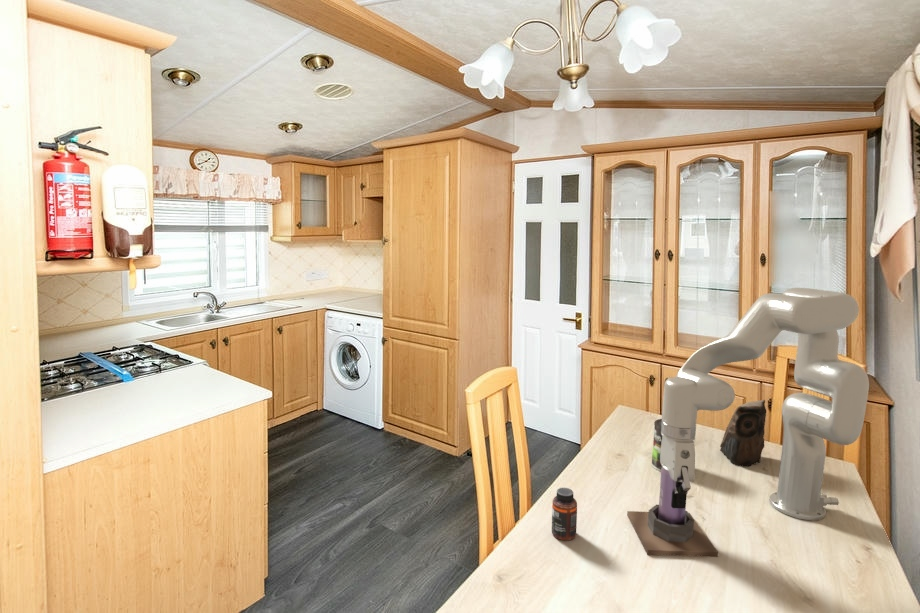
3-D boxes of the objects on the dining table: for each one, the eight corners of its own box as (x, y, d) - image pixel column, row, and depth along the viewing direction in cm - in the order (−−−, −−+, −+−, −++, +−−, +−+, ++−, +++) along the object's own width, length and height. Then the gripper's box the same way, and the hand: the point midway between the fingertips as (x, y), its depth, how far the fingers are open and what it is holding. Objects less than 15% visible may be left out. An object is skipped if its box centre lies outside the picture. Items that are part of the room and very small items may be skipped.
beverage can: (686, 532, 120) (691, 473, 118) (660, 529, 121) (664, 471, 119) (681, 518, 126) (685, 462, 123) (655, 516, 127) (659, 459, 124)
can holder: (689, 517, 131) (690, 498, 130) (717, 556, 116) (719, 536, 115) (627, 515, 132) (628, 497, 131) (647, 554, 116) (648, 534, 115)
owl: (761, 455, 167) (767, 397, 164) (770, 472, 156) (777, 410, 153) (719, 449, 172) (724, 393, 169) (724, 465, 160) (730, 405, 157)
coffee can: (655, 473, 154) (658, 430, 152) (648, 458, 164) (650, 417, 162) (691, 476, 153) (694, 432, 151) (681, 460, 163) (684, 419, 161)
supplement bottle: (577, 529, 125) (579, 487, 124) (574, 543, 120) (576, 499, 118) (553, 525, 127) (555, 483, 126) (549, 538, 122) (551, 495, 120)
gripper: (710, 445, 111) (704, 521, 114) (679, 416, 128) (675, 482, 131) (676, 445, 111) (670, 520, 114) (650, 415, 128) (645, 481, 131)
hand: (672, 499), depth 122 cm, fingers closed on beverage can, 5 cm apart
